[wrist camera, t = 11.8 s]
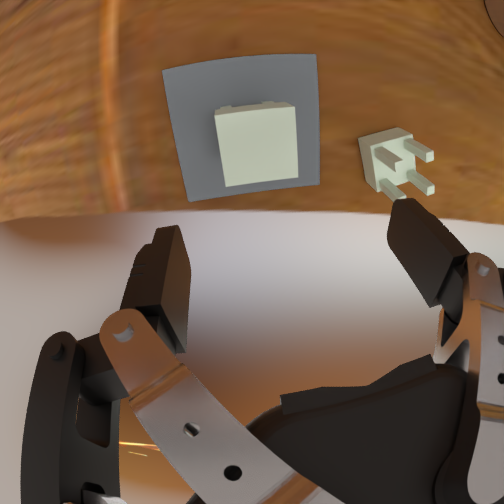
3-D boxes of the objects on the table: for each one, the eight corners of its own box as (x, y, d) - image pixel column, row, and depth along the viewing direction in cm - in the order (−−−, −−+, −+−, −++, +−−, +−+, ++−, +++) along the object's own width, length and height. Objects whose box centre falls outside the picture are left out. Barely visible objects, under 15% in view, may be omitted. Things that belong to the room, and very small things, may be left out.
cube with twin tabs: (215, 104, 22) (214, 115, 17) (275, 96, 22) (294, 106, 17) (224, 157, 26) (225, 187, 20) (280, 150, 26) (298, 177, 20)
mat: (163, 70, 20) (161, 70, 19) (314, 54, 20) (315, 54, 20) (189, 199, 29) (188, 202, 28) (317, 182, 29) (319, 184, 28)
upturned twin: (357, 137, 26) (391, 160, 21) (397, 126, 25) (435, 146, 20) (365, 180, 29) (395, 210, 24) (402, 168, 29) (436, 195, 23)
